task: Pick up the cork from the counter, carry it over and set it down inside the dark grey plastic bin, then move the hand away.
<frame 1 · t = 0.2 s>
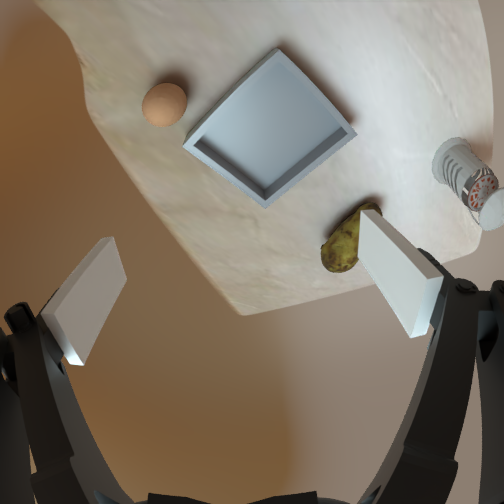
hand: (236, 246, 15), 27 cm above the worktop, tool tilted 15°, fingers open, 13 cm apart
potato: (346, 223, 50), on the worktop
french press: (452, 165, 41), on the worktop
egg: (170, 97, 33), on the worktop
grey bin: (269, 127, 37), on the worktop
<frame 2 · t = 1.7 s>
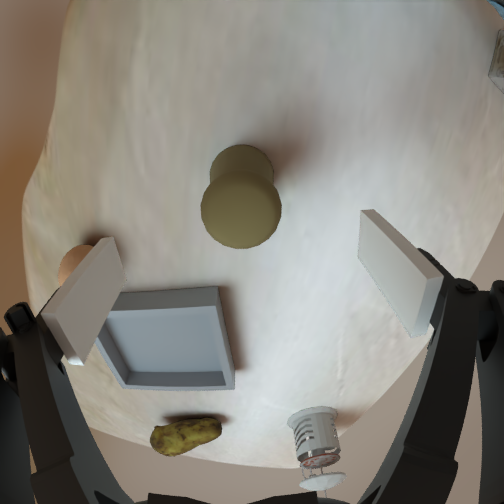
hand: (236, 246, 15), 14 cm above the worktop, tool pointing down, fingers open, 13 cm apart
potato: (187, 418, 47), on the worktop
french press: (310, 420, 49), on the worktop
egg: (95, 255, 31), on the worktop
cork: (241, 175, 27), on the worktop
grey bin: (163, 337, 36), on the worktop
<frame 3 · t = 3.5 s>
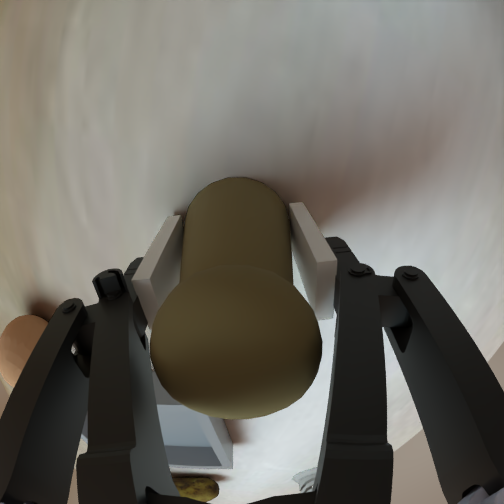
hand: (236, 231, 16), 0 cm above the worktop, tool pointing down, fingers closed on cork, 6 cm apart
potato: (180, 475, 37), on the worktop
french press: (318, 474, 38), on the worktop
egg: (45, 323, 20), on the worktop
cork: (237, 227, 17), on the worktop, touching gripper
grey bin: (143, 413, 26), on the worktop
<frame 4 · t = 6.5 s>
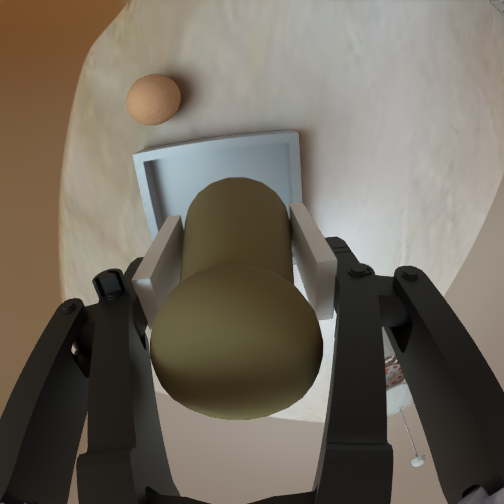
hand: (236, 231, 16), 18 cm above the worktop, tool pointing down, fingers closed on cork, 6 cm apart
french press: (366, 339, 46), on the worktop
egg: (162, 100, 28), on the worktop
cork: (237, 227, 17), point 17 cm above the worktop, touching gripper
grey bin: (224, 200, 34), on the worktop
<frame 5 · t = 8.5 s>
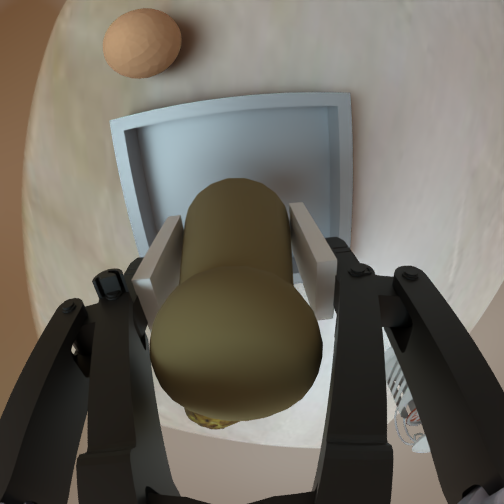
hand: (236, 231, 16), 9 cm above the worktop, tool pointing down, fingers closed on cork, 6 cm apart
potato: (240, 369, 35), on the worktop
french press: (402, 361, 36), on the worktop
egg: (155, 51, 18), on the worktop
cork: (237, 227, 17), point 8 cm above the worktop, touching gripper
grey bin: (238, 188, 24), on the worktop
when the fingers open (3 cm above the worktop, at t = 9.8 s): cork drops 2 cm, resting on grey bin.
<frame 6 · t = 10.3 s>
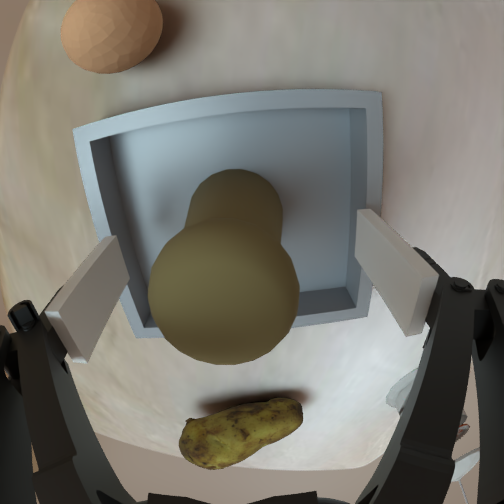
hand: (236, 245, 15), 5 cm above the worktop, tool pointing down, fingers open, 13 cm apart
potato: (240, 404, 30), on the worktop
french press: (414, 389, 32), on the worktop
egg: (133, 40, 14), on the worktop
cork: (235, 215, 19), point 1 cm above the worktop, touching grey bin
grey bin: (237, 211, 19), on the worktop
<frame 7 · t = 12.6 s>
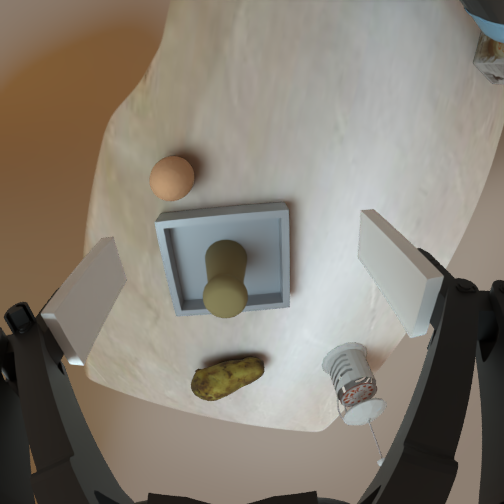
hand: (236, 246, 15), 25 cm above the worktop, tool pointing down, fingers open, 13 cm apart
potato: (227, 362, 53), on the worktop
french press: (342, 362, 55), on the worktop
egg: (177, 173, 37), on the worktop
cork: (226, 258, 42), point 1 cm above the worktop, touching grey bin
coffee box: (486, 57, 29), on the worktop
grey bin: (226, 256, 43), on the worktop
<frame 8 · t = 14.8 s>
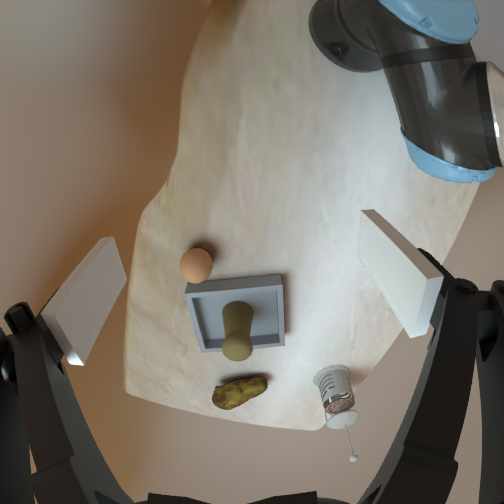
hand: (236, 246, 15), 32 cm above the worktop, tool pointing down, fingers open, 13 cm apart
potato: (239, 379, 67), on the worktop
french press: (330, 378, 69), on the worktop
egg: (198, 255, 51), on the worktop
cork: (237, 312, 56), point 1 cm above the worktop, touching grey bin
grey bin: (238, 310, 57), on the worktop
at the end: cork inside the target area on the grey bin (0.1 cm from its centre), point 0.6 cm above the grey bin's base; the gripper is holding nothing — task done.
